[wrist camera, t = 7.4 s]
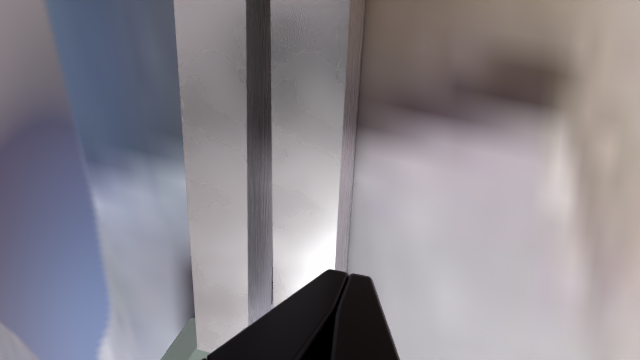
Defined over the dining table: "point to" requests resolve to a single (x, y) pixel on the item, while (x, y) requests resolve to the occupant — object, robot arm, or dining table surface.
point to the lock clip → (185, 345)
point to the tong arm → (313, 135)
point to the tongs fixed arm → (227, 160)
